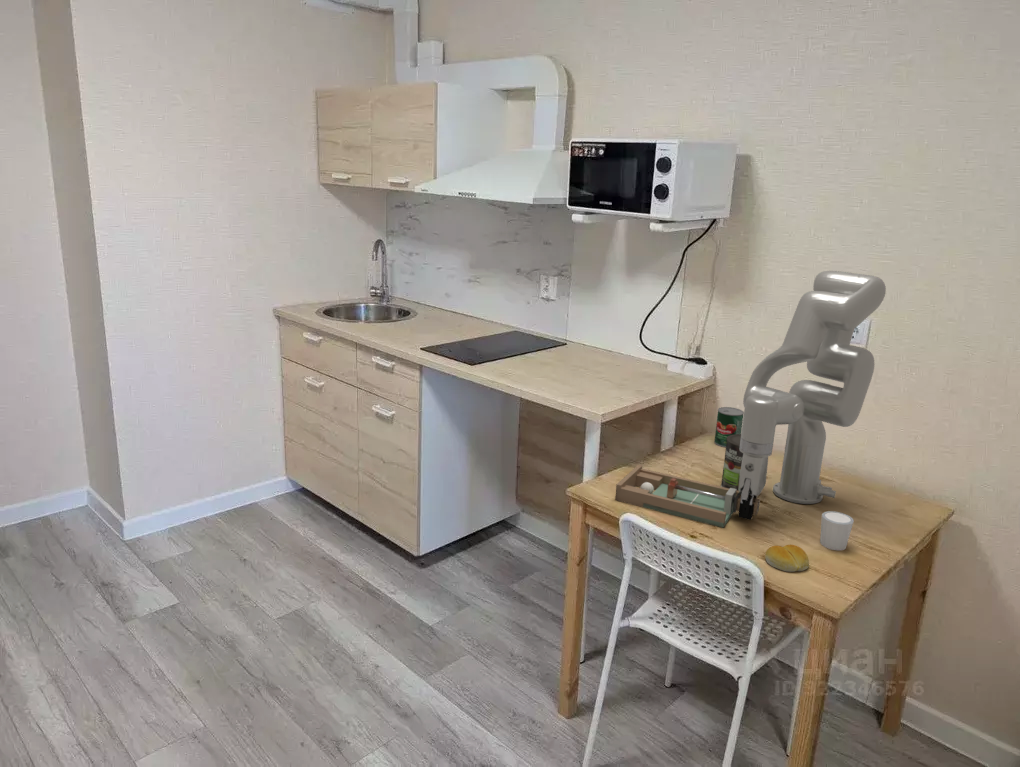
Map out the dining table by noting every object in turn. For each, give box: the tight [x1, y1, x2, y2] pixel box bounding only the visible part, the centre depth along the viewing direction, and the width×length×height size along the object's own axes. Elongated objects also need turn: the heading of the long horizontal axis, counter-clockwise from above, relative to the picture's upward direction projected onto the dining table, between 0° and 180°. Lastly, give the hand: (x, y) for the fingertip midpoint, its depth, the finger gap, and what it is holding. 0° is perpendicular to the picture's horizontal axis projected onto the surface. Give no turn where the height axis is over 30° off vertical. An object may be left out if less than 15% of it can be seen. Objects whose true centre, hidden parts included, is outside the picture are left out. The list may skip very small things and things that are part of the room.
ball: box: [639, 482, 655, 494], centre depth 196 cm, size 4×4×4 cm
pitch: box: [614, 464, 739, 529], centre depth 191 cm, size 28×16×6 cm, turn 60°
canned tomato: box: [714, 406, 744, 448], centre depth 234 cm, size 8×8×11 cm
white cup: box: [819, 510, 855, 551], centre depth 172 cm, size 7×7×7 cm
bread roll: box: [764, 543, 810, 573], centre depth 163 cm, size 8×9×4 cm
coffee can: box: [720, 434, 743, 495], centre depth 200 cm, size 10×10×14 cm
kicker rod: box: [667, 478, 761, 516], centre depth 187 cm, size 22×5×4 cm, turn 60°
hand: (746, 514), depth 184 cm, fingers closed on kicker rod, 3 cm apart
